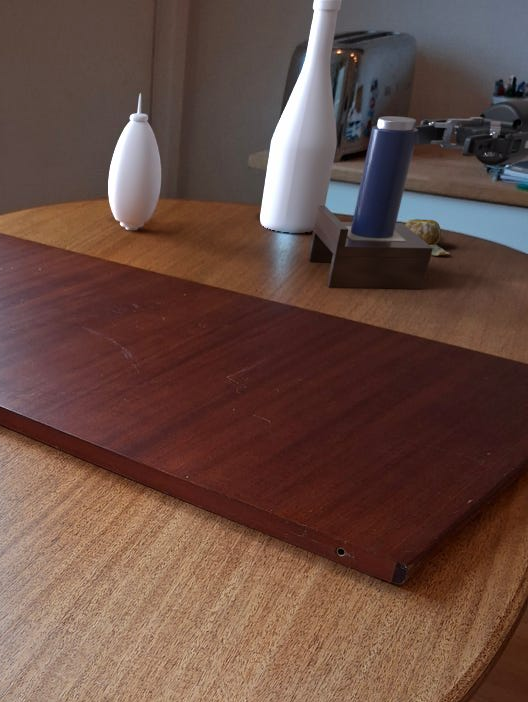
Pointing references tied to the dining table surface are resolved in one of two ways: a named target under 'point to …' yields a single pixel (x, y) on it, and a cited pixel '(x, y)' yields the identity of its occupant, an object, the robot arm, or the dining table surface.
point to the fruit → (428, 233)
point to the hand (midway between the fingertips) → (438, 141)
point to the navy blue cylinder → (384, 177)
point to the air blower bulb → (135, 173)
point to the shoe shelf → (368, 255)
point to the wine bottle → (304, 136)
